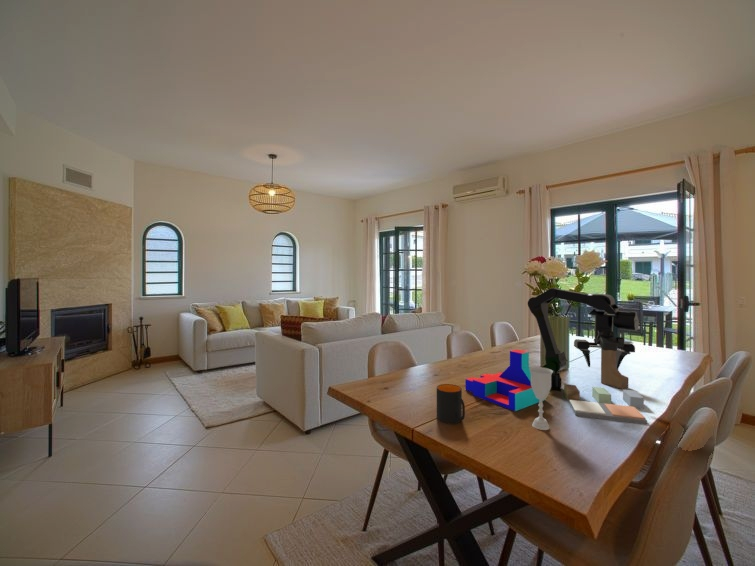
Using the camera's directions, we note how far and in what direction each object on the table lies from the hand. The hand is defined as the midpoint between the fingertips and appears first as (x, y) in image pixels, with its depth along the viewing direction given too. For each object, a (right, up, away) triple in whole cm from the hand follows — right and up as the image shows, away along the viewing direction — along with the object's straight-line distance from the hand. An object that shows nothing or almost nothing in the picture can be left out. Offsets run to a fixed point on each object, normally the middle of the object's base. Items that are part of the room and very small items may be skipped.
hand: (602, 367), depth 128 cm
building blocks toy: (-37, -13, +6) cm, 39 cm away
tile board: (-7, -13, -12) cm, 19 cm away
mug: (-61, -13, -17) cm, 65 cm away
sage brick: (-1, -13, 0) cm, 13 cm away
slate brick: (+9, -13, -4) cm, 16 cm away
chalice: (-34, -13, -22) cm, 43 cm away
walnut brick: (-10, -13, +3) cm, 16 cm away
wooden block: (+16, -12, +17) cm, 26 cm away
